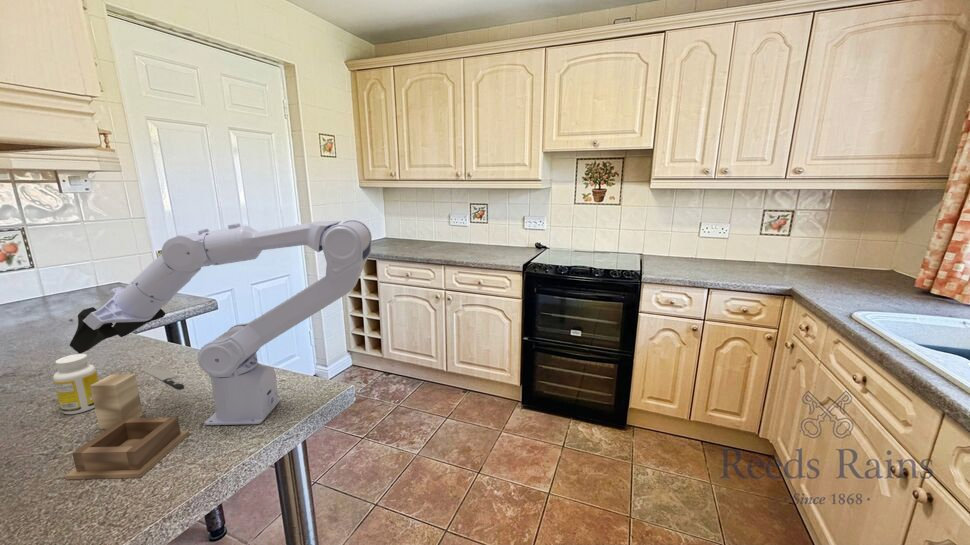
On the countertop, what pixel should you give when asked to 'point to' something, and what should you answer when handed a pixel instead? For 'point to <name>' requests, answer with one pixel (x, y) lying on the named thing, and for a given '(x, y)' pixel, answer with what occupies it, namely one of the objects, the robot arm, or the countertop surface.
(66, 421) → the countertop surface
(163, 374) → the chef's knife
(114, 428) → the wooden peg socket
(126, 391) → the peg
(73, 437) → the countertop surface
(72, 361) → the supplement bottle
